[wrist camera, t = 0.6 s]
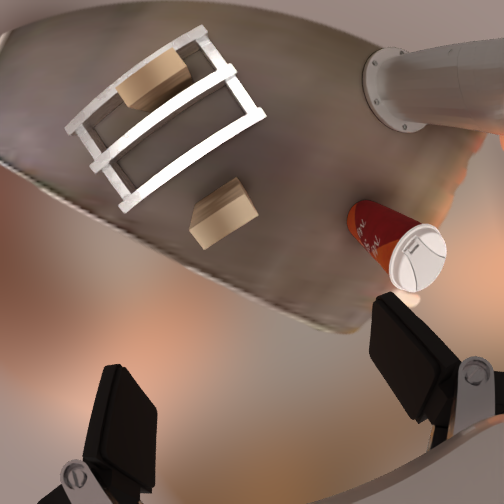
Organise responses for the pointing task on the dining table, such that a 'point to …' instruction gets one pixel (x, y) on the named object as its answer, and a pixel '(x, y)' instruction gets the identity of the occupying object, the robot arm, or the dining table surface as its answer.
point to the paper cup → (398, 244)
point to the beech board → (221, 213)
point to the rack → (162, 118)
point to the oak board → (155, 82)
